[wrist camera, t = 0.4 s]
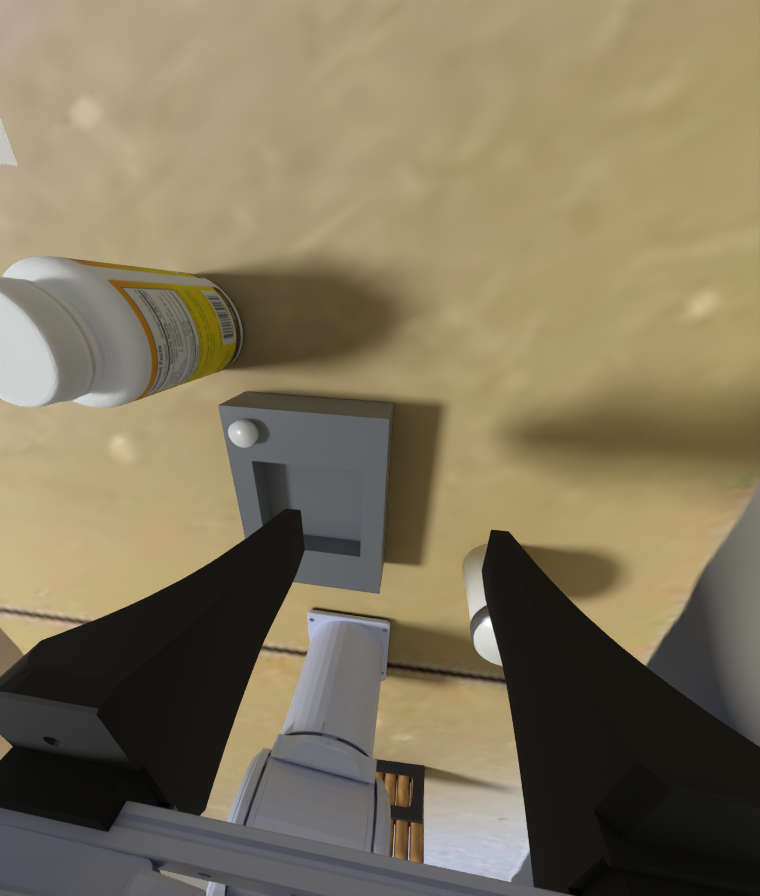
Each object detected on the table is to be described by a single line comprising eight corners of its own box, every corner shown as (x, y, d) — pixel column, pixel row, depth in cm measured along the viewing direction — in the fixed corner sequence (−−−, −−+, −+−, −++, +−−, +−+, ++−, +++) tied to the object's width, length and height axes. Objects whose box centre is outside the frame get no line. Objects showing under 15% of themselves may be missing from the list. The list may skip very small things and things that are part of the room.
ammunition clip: (349, 761, 43) (324, 913, 32) (347, 755, 42) (322, 909, 32) (424, 771, 41) (425, 935, 31) (424, 765, 41) (425, 931, 30)
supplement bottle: (148, 330, 19) (-100, 355, 10) (181, 250, 17) (-101, 188, 8) (224, 388, 20) (61, 458, 11) (264, 320, 18) (101, 338, 9)
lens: (522, 595, 25) (549, 674, 20) (456, 586, 26) (465, 661, 20) (540, 546, 23) (576, 621, 17) (467, 537, 23) (481, 608, 18)
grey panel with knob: (383, 563, 25) (378, 600, 22) (270, 548, 26) (249, 582, 23) (393, 403, 19) (388, 423, 16) (245, 391, 20) (211, 408, 17)
